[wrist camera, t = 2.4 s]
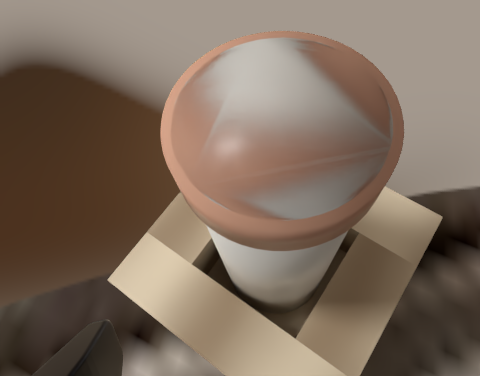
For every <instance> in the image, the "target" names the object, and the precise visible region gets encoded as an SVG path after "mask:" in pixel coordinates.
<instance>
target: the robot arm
mask: <svg viewBox="0 0 480 376" xmlns="http://www.w3.org/2000/svg"><path fill="white" fill-rule="evenodd" d="M122 365H123V353H122V348H121V346H120V343H119V340H118V338H117V335H116V333H115V330H114V328H113V325H112V323H111V322H110V321H109V320H102V321H97V322H93V323H90V324H88V325H87V326H86V327H85V328H84V329H83V330H82V331H81V332H80V333H78V334H77V335H76V336H75V337H74V338H73V339H72V340H71V341H70V342H68V343H67V344H66V345H65V346H64V347H63V348H62V349H61V350H60V351H59V352H57V353H56V354H55V355H54V356H53V357H52V358H51V359H50V360H49V361H47V362H46V363H45V364H44V365H43V366H42V367H41V368H40V369H39V370H38V371H36V372H35V373H34V374H33V375H32V376H122Z"/></svg>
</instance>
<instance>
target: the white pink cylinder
mask: <svg viewBox="0 0 480 376" xmlns="http://www.w3.org/2000/svg"><path fill="white" fill-rule="evenodd" d="M403 138H404V121H403V116H402V111H401V107H400V104H399V101H398V98H397V96H396V94H395V92H394V90H393V88H392V86H391V85H390V83H389V82H388V80H387V79H386V78H385V76H384V75H383V74H382V73H381V72H380V71H379V69H378V68H377V67H376V66H375V65H374V64H373V63H371V62H370V61H369V60H368V59H366V58H365V57H364V56H363V55H361V54H359V53H358V52H356V51H355V50H353V49H352V48H350V47H348V46H346V45H344V44H341V43H339V42H337V41H334V40H331V39H329V38H326V37H322V36H318V35H314V34H309V33H303V32H292V31H273V32H264V33H257V34H252V35H248V36H244V37H241V38H238V39H235V40H232V41H229V42H227V43H225V44H223V45H220V46H218V47H217V48H215V49H213V50H211V51H210V52H208V53H206V54H205V55H204V56H202V57H201V58H200V59H198V60H197V61H196V62H195V63H193V65H191V66H190V67H189V68H188V69H187V70H186V71H185V73H184V74H183V75H182V76H181V77H180V78H179V80H178V81H177V83H176V84H175V86H174V87H173V89H172V90H171V93H170V95H169V97H168V99H167V101H166V104H165V108H164V111H163V115H162V122H161V143H162V149H163V154H164V157H165V160H166V163H167V165H168V167H169V169H170V171H171V173H172V175H173V177H174V179H175V181H176V183H177V185H178V187H179V189H180V191H181V193H182V195H183V197H184V199H185V201H186V202H187V204H188V205H189V207H190V208H191V209H192V211H193V212H194V214H195V215H196V216H197V217H198V218H199V219H200V220H201V221H202V222H203V223H204V224H205V225H206V226H207V228H208V230H209V233H210V235H211V237H212V239H213V241H214V244H215V246H216V248H217V250H218V252H219V255H220V257H221V259H222V261H223V263H224V266H225V268H226V270H227V272H228V274H229V277H230V279H231V281H232V283H233V285H234V287H235V289H236V291H237V293H238V294H239V295H240V297H241V298H242V299H243V300H244V301H245V302H246V303H247V304H249V305H250V306H252V307H253V308H255V309H257V310H259V311H262V312H266V313H272V314H281V313H287V312H291V311H293V310H296V309H298V308H299V307H301V306H303V305H304V304H305V303H306V302H307V301H308V300H309V299H310V298H311V297H312V296H313V294H314V293H315V291H316V289H317V287H318V286H319V284H320V282H321V280H322V278H323V276H324V275H325V273H326V271H327V269H328V267H329V265H330V263H331V262H332V260H333V258H334V256H335V254H336V252H337V250H338V249H339V247H340V245H341V243H342V241H343V239H344V238H345V236H346V234H347V232H348V230H349V229H351V228H352V227H353V226H354V225H356V224H357V223H358V222H359V221H360V220H361V219H362V218H363V217H364V216H365V215H366V214H367V213H368V211H369V210H370V208H371V207H372V206H373V204H374V203H375V201H376V200H377V198H378V196H379V195H380V193H381V191H382V190H383V188H384V187H385V185H386V183H387V182H388V180H389V178H390V177H391V175H392V173H393V171H394V169H395V167H396V165H397V163H398V160H399V157H400V154H401V151H402V146H403Z"/></svg>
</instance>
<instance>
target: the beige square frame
mask: <svg viewBox="0 0 480 376" xmlns="http://www.w3.org/2000/svg"><path fill="white" fill-rule="evenodd" d="M442 218H443V217H442V216H440V215H438V214H436V213H434V212H432V211H431V210H429V209H427V208H425V207H423V206H421V205H419V204H417V203H415V202H414V201H412V200H410V199H408V198H406V197H404V196H402V195H400V194H398V193H397V192H395V191H393V190H391V189H389V188H387V187H384V188H383V190H382V191H381V193H380V195H379V196H378V198H377V200H376V201H375V203H374V204H373V206H372V207H371V208H370V210H369V211H368V213H367V214H366V215H365V216H364V217H363V218H362V219H361V220H360V221H359V222H358V223H357V224H356V225H354V226H353V227H352V228H351V229H349V230H348V232H347V234H346V236H345V238H344V239H343V241H342V243H341V245H340V247H339V249H338V250H337V252H336V254H335V256H334V258H333V260H332V262H331V263H330V265H329V267H328V269H327V271H326V273H325V275H324V276H323V278H322V280H321V282H320V284H319V286H318V287H317V289H316V291H315V293H314V294H313V296H312V297H311V298H310V299H309V300H308V301H307V302H306V303H305V304H304V305H303V306H301V307H299V308H298V309H296V310H293V311H291V312H287V313H281V314H272V313H266V312H262V311H259V310H257V309H255V308H253V307H252V306H250V305H249V304H247V303H246V302H245V301H244V300H243V299H242V298H241V297H240V295H239V294H238V293H237V291H236V289H235V287H234V285H233V283H232V281H231V279H230V277H229V274H228V272H227V270H226V268H225V266H224V263H223V261H222V259H221V257H220V255H219V252H218V250H217V248H216V246H215V244H214V241H213V239H212V237H211V235H210V233H209V230H208V228H207V226H206V225H205V224H204V223H203V222H202V221H201V220H200V219H199V218H198V217H197V216H196V215H195V214H194V212H193V211H192V209H191V208H190V207H189V205H188V204H187V202H186V201H185V199H184V197H183V195H182V193H181V192H180V193H179V194H178V195H177V197H176V198H175V199H174V200H173V201H172V203H171V204H170V205H169V206H168V208H167V209H166V210H165V211H164V212H163V213H162V215H161V216H160V217H159V219H158V220H157V221H156V222H155V223H154V224H153V226H152V227H151V228H150V229H149V230H148V232H147V233H146V234H145V235H144V236H143V238H142V239H141V240H140V241H139V243H138V244H137V245H136V246H135V247H134V248H133V250H132V251H131V252H130V253H129V255H128V256H127V257H126V258H125V259H124V260H123V262H122V263H121V264H120V265H119V267H118V268H117V269H116V270H115V271H114V273H113V274H112V275H111V276H110V277H109V279H108V281H109V282H111V283H112V284H113V285H114V286H115V287H117V288H118V289H119V290H120V291H122V292H123V293H124V294H125V295H127V296H128V297H129V298H130V299H132V300H133V301H134V302H135V303H137V304H138V305H139V306H140V307H141V308H143V309H144V310H145V311H146V312H148V313H149V314H150V315H151V316H153V317H154V318H155V319H156V320H158V321H159V322H160V323H161V324H163V325H164V326H165V327H166V328H167V329H169V330H170V331H171V332H172V333H174V334H175V335H176V336H177V337H179V338H180V339H181V340H182V341H184V342H185V343H186V344H187V345H189V346H190V347H191V348H192V349H193V350H195V351H196V352H197V353H198V354H200V355H201V356H202V357H203V358H205V359H206V360H207V361H208V362H210V363H211V364H212V365H213V366H214V367H216V368H217V369H218V370H219V371H221V372H222V373H223V374H224V375H226V376H360V374H361V372H362V370H363V369H364V367H365V365H366V363H367V361H368V359H369V357H370V355H371V353H372V351H373V350H374V348H375V346H376V344H377V342H378V340H379V338H380V336H381V334H382V332H383V330H384V329H385V327H386V325H387V323H388V321H389V319H390V317H391V315H392V313H393V311H394V309H395V308H396V306H397V304H398V302H399V300H400V298H401V296H402V294H403V292H404V290H405V289H406V287H407V285H408V283H409V281H410V279H411V277H412V275H413V273H414V271H415V269H416V268H417V266H418V264H419V262H420V260H421V258H422V256H423V254H424V252H425V250H426V248H427V247H428V245H429V243H430V241H431V239H432V237H433V235H434V233H435V231H436V229H437V228H438V226H439V224H440V222H441V220H442Z"/></svg>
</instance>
